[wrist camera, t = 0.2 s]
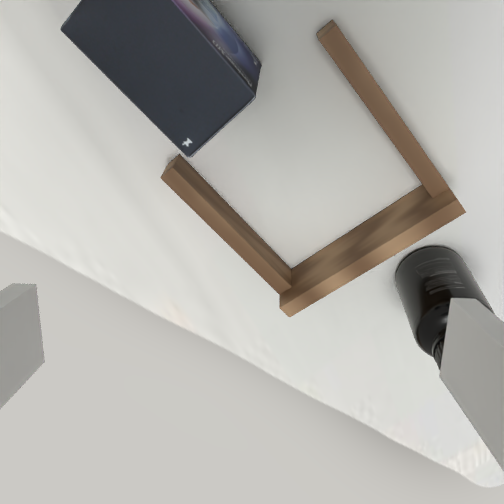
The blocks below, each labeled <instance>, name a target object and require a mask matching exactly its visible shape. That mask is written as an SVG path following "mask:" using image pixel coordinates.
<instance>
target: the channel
mask: <svg viewBox="0 0 504 504" xmlns="http://www.w3.org/2000/svg"><path fill="white" fill-rule="evenodd" d="M317 37H318V39H319V41H320V42H321V44H322V45H323V47H324V48H325V49H326V51H327V52H328V53H329V55H330V56H331V58H332V59H333V60H334V62H335V63H336V65H337V66H338V67H339V69H340V70H341V72H342V73H343V74H344V76H345V77H346V78H347V80H348V81H349V83H350V84H351V85H352V87H353V88H354V90H355V91H356V92H357V94H358V95H359V97H360V98H361V99H362V101H363V102H364V103H365V105H366V106H367V108H368V109H369V110H370V112H371V113H372V115H373V116H374V117H375V119H376V120H377V122H378V123H379V124H380V126H381V127H382V128H383V130H384V131H385V133H386V134H387V135H388V137H389V138H390V140H391V141H392V142H393V144H394V145H395V147H396V148H397V149H398V151H399V152H400V153H401V155H402V156H403V158H404V159H405V160H406V162H407V163H408V165H409V166H410V167H411V169H412V170H413V171H414V173H415V174H416V176H417V177H418V178H419V180H420V181H421V183H422V185H421V186H419V187H418V188H416V189H415V190H413V191H412V192H410V193H408V194H407V195H405V196H404V197H402V198H401V199H399V200H398V201H396V202H395V203H393V204H391V205H390V206H388V207H387V208H385V209H384V210H382V211H381V212H379V213H378V214H376V215H374V216H373V217H371V218H370V219H368V220H367V221H365V222H364V223H362V224H360V225H359V226H357V227H356V228H354V229H353V230H351V231H350V232H348V233H347V234H345V235H343V236H342V237H340V238H339V239H337V240H336V241H334V242H333V243H331V244H330V245H328V246H326V247H325V248H323V249H322V250H320V251H319V252H317V253H316V254H314V255H313V256H311V257H309V258H308V259H306V260H305V261H303V262H302V263H300V264H299V265H297V266H295V267H294V268H292V269H291V268H290V267H289V266H288V265H287V264H286V263H285V262H284V261H283V260H282V259H281V258H280V257H279V256H278V255H277V254H276V253H275V252H274V251H273V250H272V249H271V248H270V247H269V246H268V245H267V244H266V243H265V242H264V241H263V240H262V239H261V238H260V236H259V235H258V234H257V233H256V232H255V231H254V230H253V229H252V228H251V227H250V226H249V225H248V224H247V223H246V222H245V221H244V220H243V219H242V218H241V217H240V216H239V215H238V214H237V213H236V212H235V211H234V210H233V209H232V208H231V207H230V206H229V205H228V204H227V203H226V202H225V200H224V199H223V198H222V197H221V196H220V195H219V194H218V193H217V192H216V191H215V190H214V189H213V188H212V187H211V186H210V185H209V184H208V183H207V182H206V181H205V180H204V179H203V178H202V177H201V176H200V175H199V174H198V173H197V172H196V171H195V170H194V169H193V168H192V167H191V165H190V164H189V163H188V162H187V161H186V160H185V159H184V158H183V157H182V156H181V155H180V154H179V155H178V156H177V157H175V158H174V159H173V160H172V161H171V162H170V163H169V164H168V165H167V167H166V169H165V170H164V172H163V174H162V176H161V179H162V180H163V181H164V182H165V183H166V184H167V185H168V186H169V187H170V188H171V189H172V190H173V191H174V192H175V193H176V194H177V195H178V196H179V197H180V198H181V199H182V200H183V201H184V202H185V203H187V204H188V205H189V206H190V207H191V208H192V209H193V210H194V211H195V212H196V213H197V214H198V215H199V216H200V217H201V218H202V219H203V220H204V221H205V222H206V223H207V224H208V225H209V226H210V227H211V228H212V229H213V230H214V231H215V232H216V233H217V234H218V235H219V236H220V237H221V238H222V239H223V240H224V241H225V242H226V243H227V244H228V245H229V246H230V247H231V248H232V249H233V250H235V251H236V252H237V253H238V254H239V255H240V256H241V257H242V258H243V259H244V260H245V261H246V262H247V263H248V264H249V265H250V266H251V267H252V268H253V269H254V270H255V271H256V272H257V273H258V274H259V275H260V276H261V277H262V278H263V279H264V280H265V281H266V282H267V283H268V284H269V285H270V286H271V287H272V288H273V289H274V290H275V291H276V292H277V293H278V294H279V295H280V309H281V310H282V311H283V312H284V313H285V314H286V315H287V316H288V317H291V316H293V315H294V314H296V313H298V312H299V311H301V310H303V309H305V308H306V307H308V306H310V305H311V304H313V303H315V302H316V301H318V300H320V299H321V298H323V297H325V296H326V295H328V294H330V293H331V292H333V291H335V290H336V289H338V288H340V287H342V286H343V285H345V284H347V283H348V282H350V281H352V280H353V279H355V278H357V277H358V276H360V275H362V274H363V273H365V272H367V271H368V270H370V269H372V268H373V267H375V266H377V265H379V264H380V263H382V262H384V261H385V260H387V259H389V258H390V257H392V256H394V255H395V254H397V253H399V252H400V251H402V250H404V249H405V248H407V247H409V246H410V245H412V244H414V243H416V242H417V241H419V240H421V239H422V238H424V237H426V236H427V235H429V234H431V233H432V232H434V231H436V230H437V229H439V228H441V227H442V226H444V225H446V224H447V223H449V222H451V221H453V220H454V219H456V218H458V217H459V216H461V215H463V214H464V213H466V211H465V210H464V208H463V207H462V205H461V204H460V202H459V201H458V199H457V198H456V197H455V195H454V194H453V192H452V191H451V190H450V188H449V187H448V185H447V184H446V182H445V181H444V179H443V178H442V177H441V175H440V174H439V172H438V171H437V169H436V168H435V166H434V165H433V164H432V162H431V161H430V159H429V158H428V156H427V155H426V153H425V152H424V151H423V149H422V148H421V146H420V145H419V143H418V142H417V140H416V139H415V138H414V136H413V135H412V133H411V132H410V130H409V129H408V127H407V126H406V125H405V123H404V122H403V120H402V119H401V117H400V116H399V114H398V113H397V112H396V110H395V109H394V107H393V106H392V104H391V103H390V101H389V100H388V99H387V97H386V96H385V94H384V93H383V91H382V90H381V88H380V87H379V85H378V84H377V83H376V81H375V80H374V78H373V77H372V75H371V74H370V72H369V71H368V70H367V68H366V67H365V65H364V64H363V62H362V61H361V59H360V58H359V57H358V55H357V54H356V52H355V51H354V49H353V48H352V46H351V45H350V44H349V42H348V41H347V39H346V38H345V36H344V35H343V33H342V32H341V31H340V29H339V28H338V26H337V25H336V23H335V22H334V21H333V20H331V21H330V22H329V23H328V24H327V25H326V26H325V27H323V28H322V29H321V30H320V31H319V32H318V33H317Z"/></svg>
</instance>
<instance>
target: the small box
mask: <svg viewBox="0 0 504 504" xmlns="http://www.w3.org/2000/svg"><path fill="white" fill-rule="evenodd" d="M61 31H62V32H63V33H64V34H65V35H66V36H67V37H68V38H69V39H70V40H71V41H72V42H73V43H74V44H75V45H76V46H77V47H78V48H79V49H80V50H81V51H82V52H83V53H84V54H85V55H86V56H87V57H88V58H89V59H90V60H91V61H92V62H93V63H94V64H95V65H96V66H97V67H98V68H99V69H100V70H101V71H102V72H103V73H104V74H105V75H106V76H107V77H108V78H109V79H110V80H111V81H112V82H113V83H114V84H115V85H116V86H117V87H118V88H119V89H120V90H121V91H122V92H123V93H124V94H125V95H126V96H127V97H128V98H129V99H130V100H131V101H132V102H133V103H134V104H135V105H136V106H137V107H138V108H139V109H140V110H141V111H142V112H143V113H144V114H145V115H146V116H147V117H148V118H149V119H150V120H151V121H152V122H153V123H154V124H155V125H156V126H157V127H158V128H159V129H160V130H161V131H162V132H163V133H164V134H165V135H166V136H167V137H168V138H169V139H170V140H171V141H172V142H173V143H174V144H175V145H176V146H177V147H178V148H179V149H180V150H181V151H182V152H183V153H184V154H185V155H186V156H187V157H193V155H194V154H195V153H196V152H197V151H199V150H200V149H201V148H202V147H203V146H204V145H205V144H206V143H207V142H208V141H209V140H211V139H212V138H213V137H214V136H215V135H216V134H217V133H218V132H219V131H220V130H221V129H222V128H224V127H225V126H226V125H227V124H228V123H229V122H230V121H231V120H232V119H234V118H235V117H236V116H237V115H238V114H239V113H240V112H241V111H242V110H243V109H244V108H245V107H246V106H248V105H249V104H250V103H251V102H252V101H253V100H254V99H255V98H256V90H257V85H258V80H259V74H260V69H261V66H262V65H261V63H260V61H259V60H258V59H257V57H256V56H255V55H254V54H253V53H252V51H251V50H250V49H249V48H248V47H247V45H246V44H245V43H244V42H243V40H242V39H241V38H240V37H239V36H238V34H237V33H236V32H235V31H234V29H233V28H232V27H231V26H230V25H229V23H228V22H227V21H226V20H225V18H224V17H223V16H222V15H221V14H220V12H219V11H218V10H217V9H216V7H215V6H214V5H213V4H212V3H211V2H210V0H81V1H80V3H79V4H78V5H77V7H76V8H75V9H74V11H73V12H72V13H71V15H70V16H69V17H68V19H67V20H66V21H65V22H64V24H63V25H62V27H61Z"/></svg>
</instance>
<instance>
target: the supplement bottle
mask: <svg viewBox="0 0 504 504" xmlns="http://www.w3.org/2000/svg"><path fill="white" fill-rule="evenodd" d="M396 286H397V289H398V292H399V295H400V298H401V301H402V304H403V307H404V309H405V312H406V315H407V318H408V321H409V324H410V327H411V330H412V332H413V335H414V338H415V340H416V342H417V344H418V346H419V347H420V348H421V349H422V350H423V351H424V352H425V353H427V354H428V355H430V356H432V357H434V359H435V361H436V362H437V365H438V367H439V370H440V368H441V361H442V355H443V348H444V341H445V335H446V328H447V321H448V314H449V308H450V301H451V298H469V299H477V300H478V301H479V302H480V303H481V304H483V305H484V306H485V307H486V308H487V309H489V310H490V311H491V312H492V313H493V314H494V312H493V310H492V308H491V306H490V305H489V303H488V301H487V300H486V298H485V296H484V294H483V293H482V291H481V289H480V288H479V286H478V284H477V283H476V281H475V279H474V277H473V276H472V274H471V272H470V271H469V269H468V267H467V266H466V264H465V262H464V261H463V259H462V258H461V257H460V256H459V255H458V254H457V253H455V252H454V251H452V250H450V249H447V248H442V247H429V248H424V249H421V250H418V251H416V252H414V253H412V254H411V255H409V256H408V257H407V258H406V259H405V260H404V261H403V262H402V263H401V264H400V266H399V268H398V270H397V273H396Z"/></svg>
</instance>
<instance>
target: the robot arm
mask: <svg viewBox="0 0 504 504" xmlns="http://www.w3.org/2000/svg"><path fill="white" fill-rule="evenodd" d="M43 363H44V351H43V342H42V334H41V325H40V316H39V306H38V297H37V288H36V284H11V285H9V286H8V287H6V288H5V289H3V290H1V291H0V409H1V408H2V407H3V406H4V405H5V404H6V402H7V401H8V400H9V399H10V398H11V397H12V396H13V395H14V394H15V393H16V392H17V391H18V390H19V389H20V388H21V386H22V385H23V384H24V383H25V382H26V381H27V380H28V379H29V378H30V377H31V376H32V375H33V374H34V372H36V370H37V369H38V368H39V367H40V366H41V365H42V364H43ZM439 377H440V378H441V380H442V381H443V383H444V384H445V386H446V387H447V389H448V390H449V392H450V393H451V394H452V396H453V397H454V399H455V400H456V402H457V403H458V405H459V406H460V408H461V409H462V411H463V412H464V414H465V415H466V417H467V418H468V419H469V421H470V422H471V424H472V425H473V427H474V428H475V430H476V431H477V433H478V434H479V436H480V437H481V439H482V440H483V441H484V443H485V444H486V446H487V447H488V449H489V450H490V452H491V453H492V455H493V456H494V458H495V459H496V461H497V462H498V464H499V465H500V466H501V468H502V469H503V471H504V322H503V321H502V320H501V319H499V318H498V317H497V316H496V315H495V314H493V313H492V312H491V311H490V310H489V309H487V308H486V307H485V306H484V305H483V304H481V303H480V302H479V301H478V300H477V299H469V298H451V301H450V308H449V314H448V321H447V328H446V335H445V341H444V348H443V355H442V361H441V368H440V375H439Z"/></svg>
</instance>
